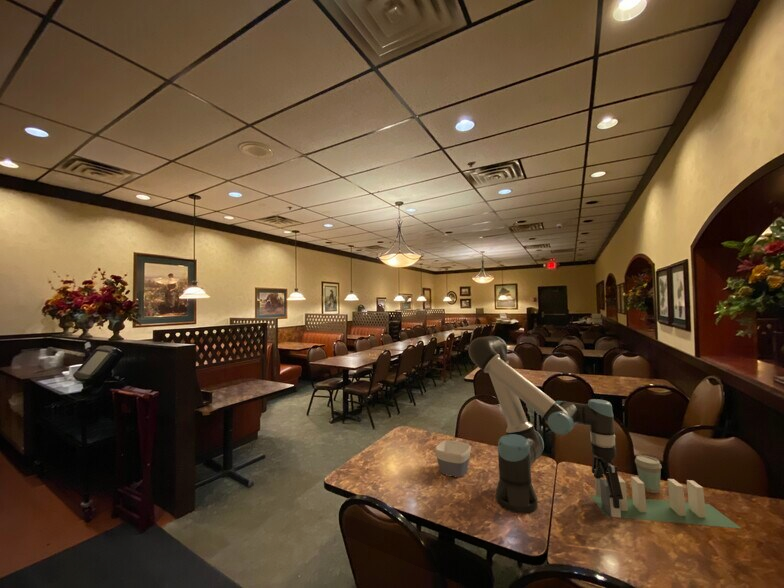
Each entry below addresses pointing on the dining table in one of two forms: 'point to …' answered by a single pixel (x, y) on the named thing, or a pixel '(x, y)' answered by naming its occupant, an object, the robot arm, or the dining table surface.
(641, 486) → the domino
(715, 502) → the dining table surface
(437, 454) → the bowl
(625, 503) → the domino
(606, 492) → the slate domino
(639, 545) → the dining table surface
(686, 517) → the mat
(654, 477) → the coffee cup
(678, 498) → the domino
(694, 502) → the domino
